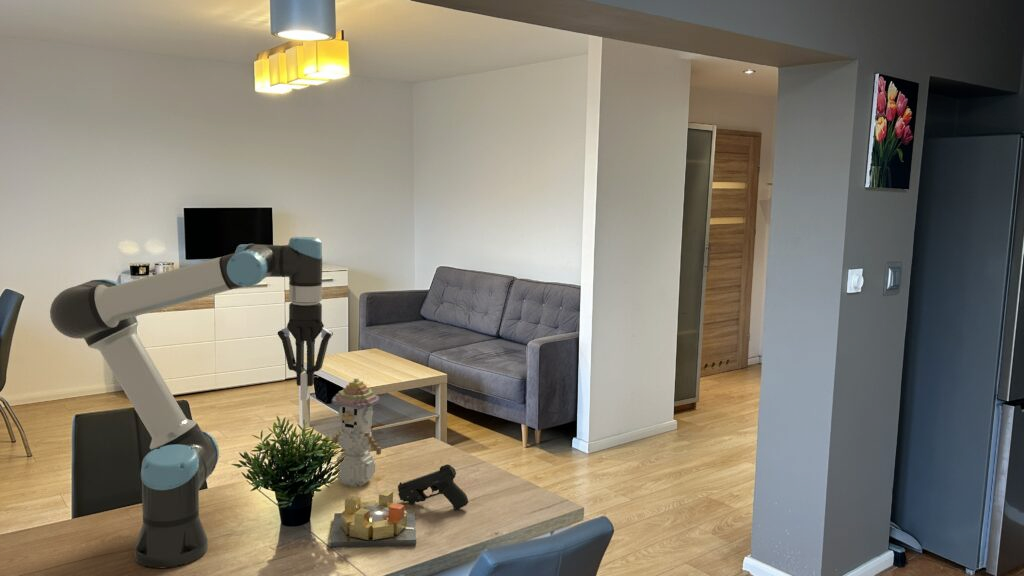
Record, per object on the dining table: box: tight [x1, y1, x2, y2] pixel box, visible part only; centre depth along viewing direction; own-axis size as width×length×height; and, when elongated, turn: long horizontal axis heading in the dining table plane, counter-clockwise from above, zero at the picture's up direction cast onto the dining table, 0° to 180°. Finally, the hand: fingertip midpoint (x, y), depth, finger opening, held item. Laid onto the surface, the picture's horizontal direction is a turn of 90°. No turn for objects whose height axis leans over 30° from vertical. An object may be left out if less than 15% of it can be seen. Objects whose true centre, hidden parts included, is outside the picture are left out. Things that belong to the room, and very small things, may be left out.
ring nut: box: [341, 489, 407, 540], centre depth 192 cm, size 15×15×6 cm
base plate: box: [329, 505, 417, 549], centre depth 192 cm, size 20×16×5 cm
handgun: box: [397, 464, 469, 511], centre depth 208 cm, size 2×17×12 cm, turn 79°
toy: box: [330, 377, 382, 488], centre depth 221 cm, size 16×12×30 cm
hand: (305, 398), depth 190 cm, fingers closed
